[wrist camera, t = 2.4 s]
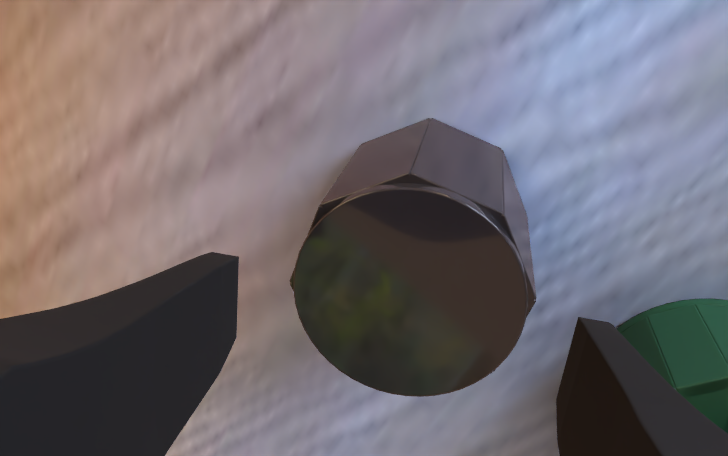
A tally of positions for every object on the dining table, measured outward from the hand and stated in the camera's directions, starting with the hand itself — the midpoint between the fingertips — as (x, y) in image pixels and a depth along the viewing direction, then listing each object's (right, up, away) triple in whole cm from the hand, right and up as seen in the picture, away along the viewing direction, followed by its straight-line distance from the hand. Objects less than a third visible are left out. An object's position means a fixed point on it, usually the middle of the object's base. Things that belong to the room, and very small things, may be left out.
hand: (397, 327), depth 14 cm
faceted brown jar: (+1, +3, +6) cm, 7 cm away
